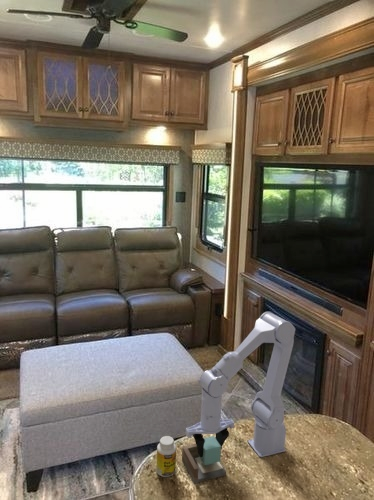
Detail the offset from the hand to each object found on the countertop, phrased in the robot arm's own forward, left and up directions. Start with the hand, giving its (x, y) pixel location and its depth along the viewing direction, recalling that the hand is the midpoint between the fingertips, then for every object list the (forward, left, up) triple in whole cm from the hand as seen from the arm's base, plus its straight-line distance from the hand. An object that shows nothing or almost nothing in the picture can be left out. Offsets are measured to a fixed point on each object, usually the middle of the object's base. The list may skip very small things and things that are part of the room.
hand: (209, 452), depth 123 cm
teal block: (0, 0, -2) cm, 2 cm away
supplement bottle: (+13, -2, -5) cm, 14 cm away
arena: (+2, 0, -5) cm, 5 cm away
